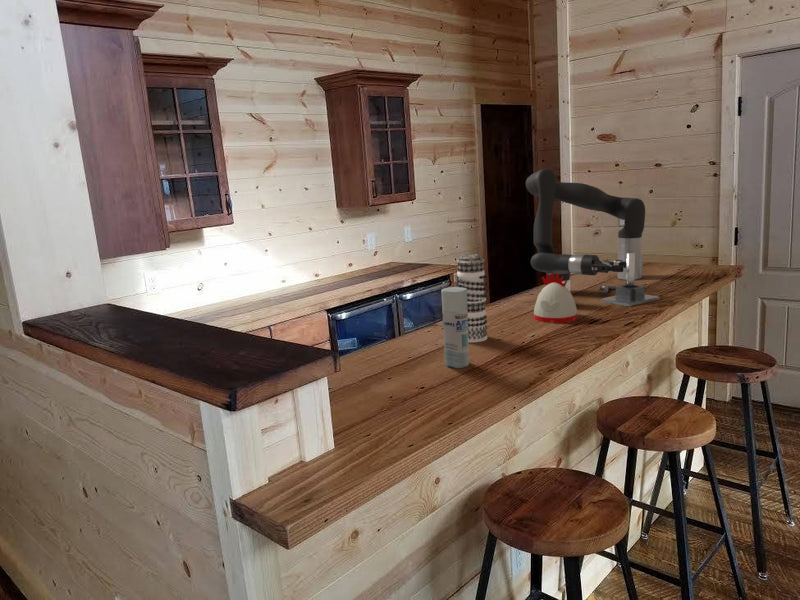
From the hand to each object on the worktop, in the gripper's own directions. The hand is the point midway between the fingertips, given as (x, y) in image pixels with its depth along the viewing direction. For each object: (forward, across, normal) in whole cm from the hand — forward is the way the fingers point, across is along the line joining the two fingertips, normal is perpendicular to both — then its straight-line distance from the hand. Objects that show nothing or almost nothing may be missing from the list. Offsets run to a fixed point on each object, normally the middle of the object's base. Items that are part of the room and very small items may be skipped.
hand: (627, 267), depth 221 cm
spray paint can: (-12, -90, +12) cm, 92 cm away
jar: (-18, -18, +12) cm, 28 cm away
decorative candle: (-22, -67, +12) cm, 72 cm away
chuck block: (+1, 0, +12) cm, 12 cm away
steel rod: (+1, 0, +11) cm, 11 cm away
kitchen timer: (-11, -34, +12) cm, 38 cm away
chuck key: (-12, +11, +12) cm, 20 cm away
